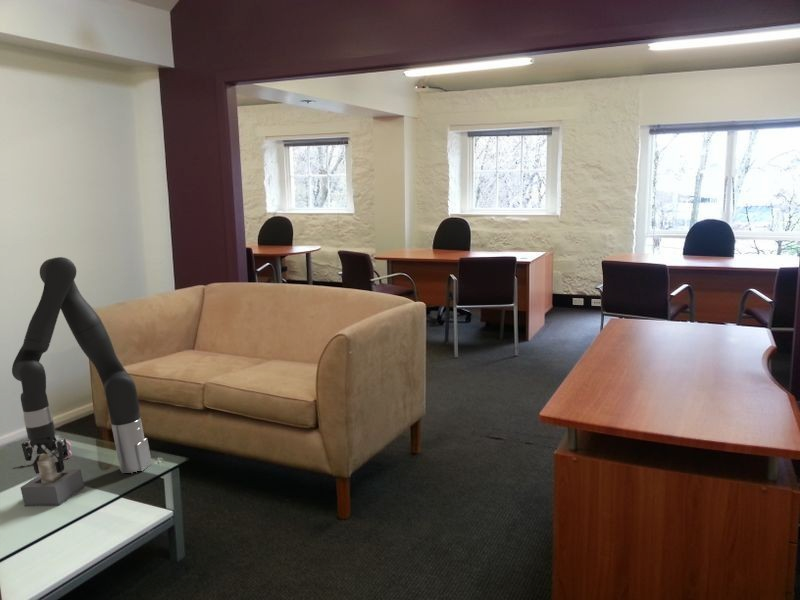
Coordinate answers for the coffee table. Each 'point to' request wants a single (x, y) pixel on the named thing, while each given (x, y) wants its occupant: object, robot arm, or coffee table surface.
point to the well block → (52, 489)
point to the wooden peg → (48, 470)
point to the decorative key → (56, 455)
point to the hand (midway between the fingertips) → (49, 471)
